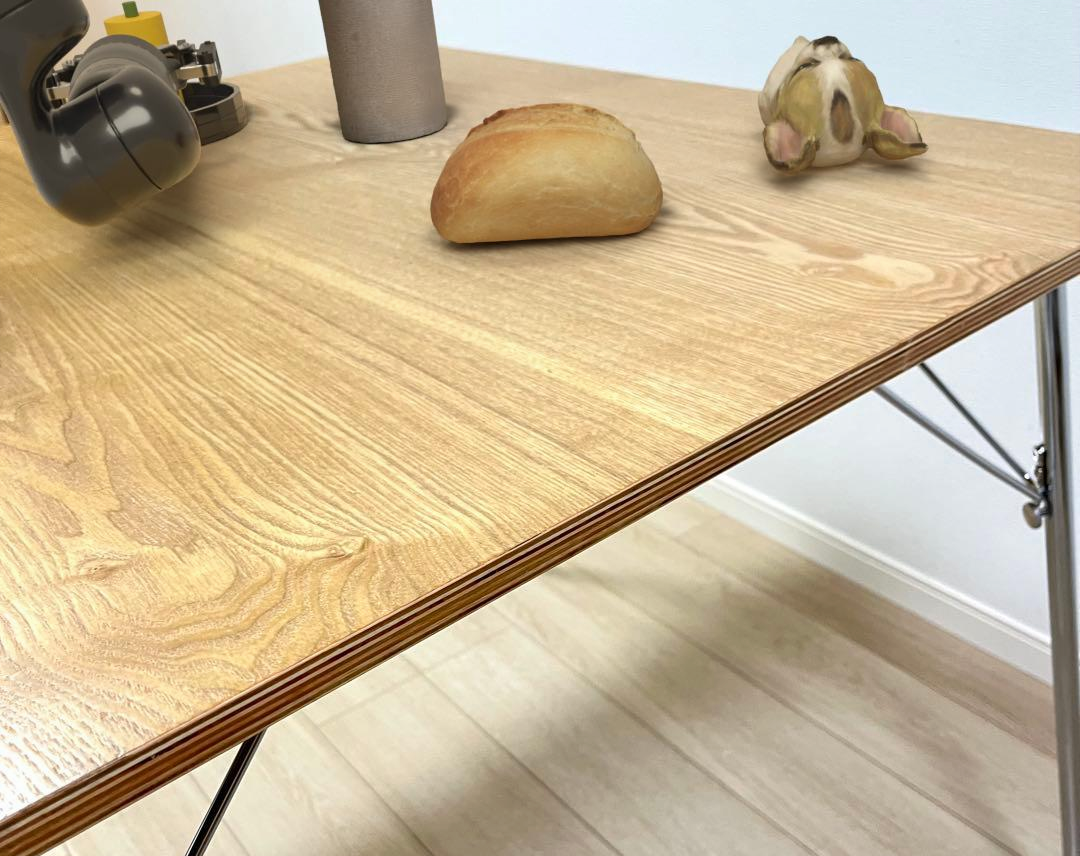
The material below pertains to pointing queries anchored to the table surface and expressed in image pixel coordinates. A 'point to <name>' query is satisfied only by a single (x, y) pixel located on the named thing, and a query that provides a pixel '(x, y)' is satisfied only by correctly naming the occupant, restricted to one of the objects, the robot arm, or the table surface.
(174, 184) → the robot arm
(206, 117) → the pan
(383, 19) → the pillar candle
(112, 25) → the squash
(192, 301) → the table surface
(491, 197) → the bread roll
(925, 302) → the table surface
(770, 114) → the ceramic sculpture
